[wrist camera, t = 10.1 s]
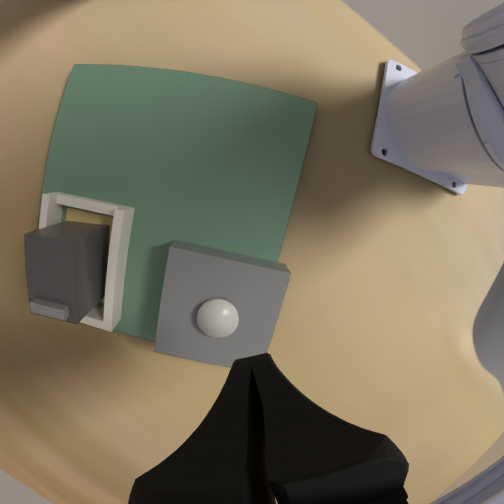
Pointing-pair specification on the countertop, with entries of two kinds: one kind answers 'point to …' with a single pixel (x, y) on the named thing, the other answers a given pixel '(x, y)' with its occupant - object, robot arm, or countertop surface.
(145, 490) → the robot arm
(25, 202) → the countertop surface
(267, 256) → the board
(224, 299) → the grey knob block
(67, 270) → the plug
